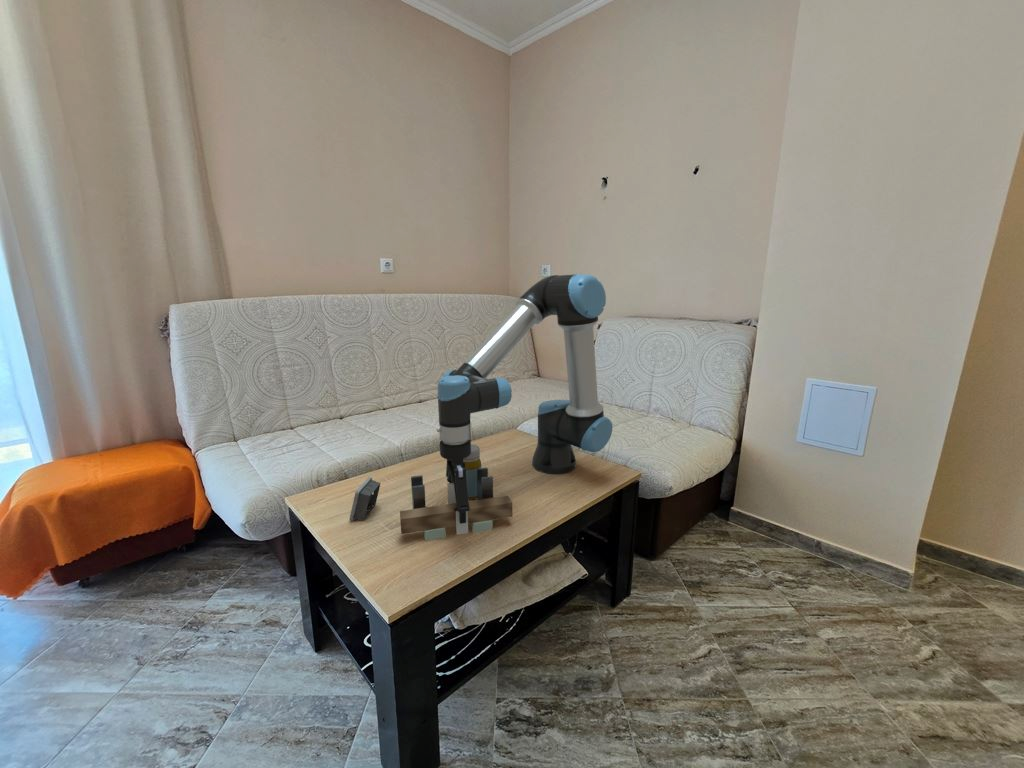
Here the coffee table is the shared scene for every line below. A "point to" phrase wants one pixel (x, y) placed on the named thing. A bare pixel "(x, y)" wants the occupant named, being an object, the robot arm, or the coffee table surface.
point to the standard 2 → (484, 484)
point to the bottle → (472, 471)
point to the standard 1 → (418, 492)
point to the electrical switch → (365, 499)
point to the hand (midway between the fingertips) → (457, 518)
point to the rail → (454, 514)
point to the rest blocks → (440, 534)
